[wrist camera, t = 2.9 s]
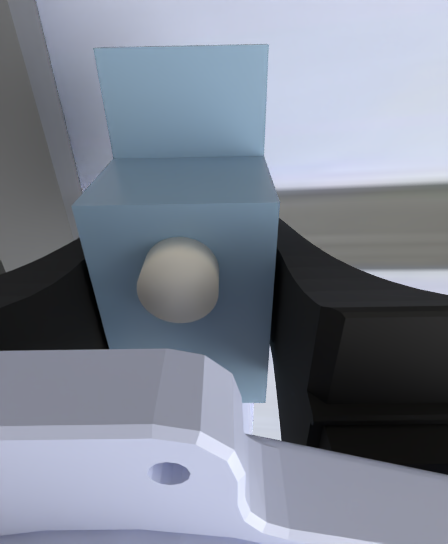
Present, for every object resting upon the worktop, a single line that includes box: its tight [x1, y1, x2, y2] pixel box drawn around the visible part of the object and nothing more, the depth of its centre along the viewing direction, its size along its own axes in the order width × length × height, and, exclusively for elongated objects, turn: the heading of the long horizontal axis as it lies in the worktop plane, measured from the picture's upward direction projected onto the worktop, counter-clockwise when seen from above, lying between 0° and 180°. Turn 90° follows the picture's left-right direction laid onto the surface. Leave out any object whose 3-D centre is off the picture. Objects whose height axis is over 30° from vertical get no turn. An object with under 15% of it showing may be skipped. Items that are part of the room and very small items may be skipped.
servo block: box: [71, 44, 280, 403], centre depth 11 cm, size 11×4×7 cm, turn 1°
